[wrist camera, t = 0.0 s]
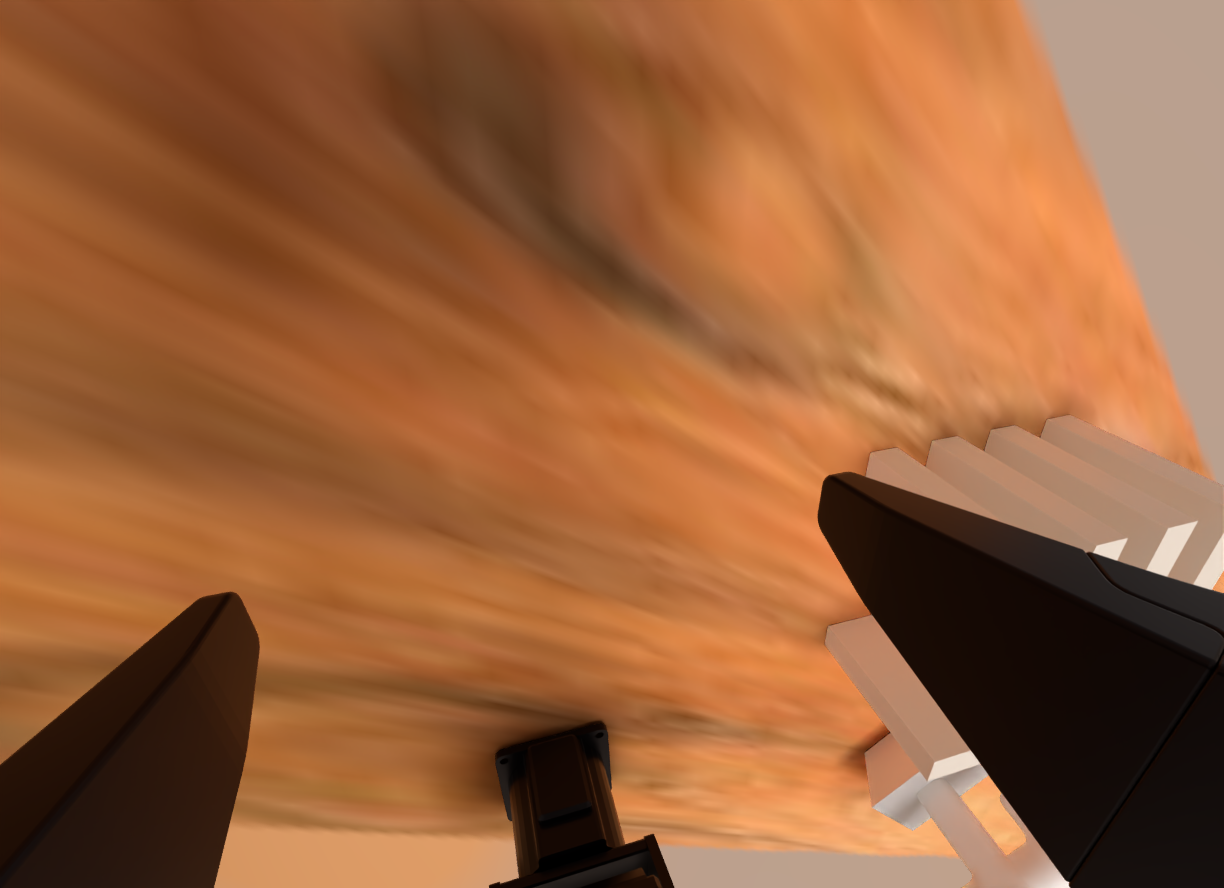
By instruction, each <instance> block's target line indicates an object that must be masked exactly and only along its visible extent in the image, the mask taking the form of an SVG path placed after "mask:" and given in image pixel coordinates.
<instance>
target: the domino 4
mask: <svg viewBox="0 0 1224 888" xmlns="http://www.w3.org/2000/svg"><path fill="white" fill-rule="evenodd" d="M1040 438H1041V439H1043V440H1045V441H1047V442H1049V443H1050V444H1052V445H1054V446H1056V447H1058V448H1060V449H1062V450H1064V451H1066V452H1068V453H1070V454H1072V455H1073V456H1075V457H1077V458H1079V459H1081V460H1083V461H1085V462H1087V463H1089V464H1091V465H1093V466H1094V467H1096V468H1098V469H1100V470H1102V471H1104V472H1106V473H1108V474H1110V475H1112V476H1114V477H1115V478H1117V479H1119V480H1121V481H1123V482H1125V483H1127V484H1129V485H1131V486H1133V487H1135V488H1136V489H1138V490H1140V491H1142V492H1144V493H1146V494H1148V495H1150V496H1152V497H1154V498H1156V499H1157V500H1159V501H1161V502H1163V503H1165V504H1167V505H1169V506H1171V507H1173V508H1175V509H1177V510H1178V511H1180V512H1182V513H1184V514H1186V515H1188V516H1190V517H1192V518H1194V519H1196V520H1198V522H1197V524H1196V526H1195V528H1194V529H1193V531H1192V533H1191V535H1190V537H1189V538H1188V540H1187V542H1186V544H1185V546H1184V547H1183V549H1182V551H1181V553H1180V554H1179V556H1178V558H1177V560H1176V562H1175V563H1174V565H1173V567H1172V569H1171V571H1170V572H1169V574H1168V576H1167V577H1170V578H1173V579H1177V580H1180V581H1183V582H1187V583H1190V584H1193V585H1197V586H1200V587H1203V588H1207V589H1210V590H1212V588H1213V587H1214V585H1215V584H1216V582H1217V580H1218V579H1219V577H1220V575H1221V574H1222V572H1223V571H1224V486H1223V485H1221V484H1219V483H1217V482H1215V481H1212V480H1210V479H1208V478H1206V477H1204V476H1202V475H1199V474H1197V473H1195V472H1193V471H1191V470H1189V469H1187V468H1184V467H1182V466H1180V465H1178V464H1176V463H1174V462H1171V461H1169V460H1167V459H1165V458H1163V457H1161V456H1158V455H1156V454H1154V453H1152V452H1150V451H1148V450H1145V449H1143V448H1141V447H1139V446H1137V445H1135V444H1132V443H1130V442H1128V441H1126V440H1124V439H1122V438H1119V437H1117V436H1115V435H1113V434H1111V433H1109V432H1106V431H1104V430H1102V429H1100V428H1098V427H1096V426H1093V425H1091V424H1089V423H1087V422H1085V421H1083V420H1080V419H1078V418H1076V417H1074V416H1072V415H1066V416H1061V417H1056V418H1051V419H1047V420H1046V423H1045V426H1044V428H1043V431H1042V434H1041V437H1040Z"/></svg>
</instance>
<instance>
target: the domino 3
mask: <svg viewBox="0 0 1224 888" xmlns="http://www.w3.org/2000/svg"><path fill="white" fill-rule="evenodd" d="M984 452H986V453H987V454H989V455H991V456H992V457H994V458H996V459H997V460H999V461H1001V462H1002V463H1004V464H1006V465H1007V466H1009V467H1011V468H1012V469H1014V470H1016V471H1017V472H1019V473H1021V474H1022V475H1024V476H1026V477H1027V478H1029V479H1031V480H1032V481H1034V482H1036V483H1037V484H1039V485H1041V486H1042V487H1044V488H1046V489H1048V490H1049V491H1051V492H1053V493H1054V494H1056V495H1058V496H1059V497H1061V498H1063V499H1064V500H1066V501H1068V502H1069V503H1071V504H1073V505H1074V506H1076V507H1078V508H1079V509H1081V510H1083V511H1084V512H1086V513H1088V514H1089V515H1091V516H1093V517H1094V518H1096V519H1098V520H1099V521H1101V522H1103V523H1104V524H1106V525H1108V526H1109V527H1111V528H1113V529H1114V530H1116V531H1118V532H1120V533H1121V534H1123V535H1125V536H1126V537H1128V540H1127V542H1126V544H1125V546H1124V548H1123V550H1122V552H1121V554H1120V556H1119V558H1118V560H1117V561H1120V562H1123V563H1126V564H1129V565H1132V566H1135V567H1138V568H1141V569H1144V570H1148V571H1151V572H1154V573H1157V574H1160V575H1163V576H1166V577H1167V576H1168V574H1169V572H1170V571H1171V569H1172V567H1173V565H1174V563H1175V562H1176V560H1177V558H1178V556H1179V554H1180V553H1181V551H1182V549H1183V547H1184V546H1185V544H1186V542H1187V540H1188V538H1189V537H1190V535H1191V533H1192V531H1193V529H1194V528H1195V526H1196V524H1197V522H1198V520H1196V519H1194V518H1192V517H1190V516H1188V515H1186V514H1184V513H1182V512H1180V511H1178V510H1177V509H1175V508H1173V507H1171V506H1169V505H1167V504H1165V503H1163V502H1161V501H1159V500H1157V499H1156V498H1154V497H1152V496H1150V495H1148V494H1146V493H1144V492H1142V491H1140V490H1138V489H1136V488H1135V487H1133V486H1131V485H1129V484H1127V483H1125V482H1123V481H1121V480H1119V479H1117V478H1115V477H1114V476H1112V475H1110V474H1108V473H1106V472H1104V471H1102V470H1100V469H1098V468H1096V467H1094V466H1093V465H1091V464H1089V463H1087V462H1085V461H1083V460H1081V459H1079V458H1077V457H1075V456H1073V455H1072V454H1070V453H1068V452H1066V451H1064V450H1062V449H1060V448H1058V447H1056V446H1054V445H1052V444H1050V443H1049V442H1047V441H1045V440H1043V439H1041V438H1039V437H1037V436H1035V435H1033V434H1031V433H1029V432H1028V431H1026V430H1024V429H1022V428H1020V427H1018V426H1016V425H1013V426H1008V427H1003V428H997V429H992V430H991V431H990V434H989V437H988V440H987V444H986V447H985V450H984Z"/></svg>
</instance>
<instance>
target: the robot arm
mask: <svg viewBox="0 0 1224 888" xmlns="http://www.w3.org/2000/svg"><path fill="white" fill-rule="evenodd" d="M818 523H819V527H820V529H821V531H822V533H823V535H824V536H825V538H826V540H827V542H828V543H829V545H830V547H831V549H832V550H833V552H834V554H835V555H836V557H837V559H838V561H839V562H840V564H841V566H842V567H843V569H844V571H845V573H846V574H847V576H848V578H849V580H850V581H851V583H852V585H853V586H854V588H855V590H856V592H857V593H858V595H859V596H860V598H861V599H862V601H863V603H864V604H865V606H866V607H867V609H868V610H869V611H870V613H871V614H872V616H873V617H874V619H875V620H876V621H877V623H878V624H879V625H880V627H881V628H882V630H883V631H884V632H885V634H886V635H887V636H888V638H889V639H890V641H891V642H892V643H893V645H894V646H895V647H896V649H897V650H898V651H899V653H900V654H901V656H902V657H903V658H904V660H905V661H906V662H907V664H908V665H909V667H910V668H911V669H912V671H913V672H914V673H915V675H916V676H917V678H918V679H919V680H920V682H921V683H922V684H923V686H924V687H925V689H926V690H927V691H928V693H929V694H930V695H931V697H932V698H933V700H934V701H935V702H936V704H937V705H938V706H939V708H940V709H941V711H942V712H943V713H944V715H945V716H946V717H947V719H948V720H949V722H950V723H951V724H952V726H953V727H954V728H955V730H956V731H957V733H958V734H959V735H960V737H961V738H962V739H963V741H964V742H965V744H966V745H967V746H968V748H969V749H970V750H971V752H972V753H973V755H974V756H975V757H976V759H977V760H978V761H979V763H980V764H981V766H982V767H983V768H984V770H985V771H986V772H987V774H988V775H989V777H990V778H991V779H992V781H993V782H994V783H995V785H996V786H997V788H998V789H999V790H1000V792H1001V793H1002V794H1003V796H1004V797H1005V799H1006V800H1007V801H1008V803H1009V804H1010V805H1011V807H1012V808H1013V809H1014V811H1015V812H1016V814H1017V815H1018V816H1019V818H1020V819H1021V820H1022V822H1023V823H1024V825H1025V826H1026V827H1027V829H1028V830H1029V831H1030V833H1031V834H1032V836H1033V837H1034V838H1035V840H1036V841H1037V842H1038V844H1039V845H1040V847H1041V848H1042V849H1043V851H1044V852H1045V853H1046V855H1047V856H1048V858H1049V859H1050V860H1051V862H1052V863H1053V864H1054V866H1055V867H1056V869H1057V870H1058V871H1059V873H1060V874H1061V875H1062V877H1063V878H1064V880H1065V881H1067V882H1069V887H1070V888H1224V593H1220V592H1217V591H1214V590H1210V589H1207V588H1203V587H1200V586H1197V585H1193V584H1190V583H1187V582H1183V581H1180V580H1177V579H1173V578H1170V577H1166V576H1163V575H1160V574H1157V573H1154V572H1151V571H1148V570H1144V569H1141V568H1138V567H1135V566H1132V565H1129V564H1126V563H1123V562H1120V561H1117V560H1114V559H1111V558H1108V557H1105V556H1102V555H1099V554H1096V553H1093V552H1085V551H1084V550H1083V549H1080V548H1077V547H1074V546H1071V545H1068V544H1065V543H1062V542H1059V541H1056V540H1053V539H1050V538H1047V537H1044V536H1041V535H1038V534H1035V533H1032V532H1029V531H1026V530H1024V529H1021V528H1018V527H1015V526H1012V525H1009V524H1006V523H1003V522H1000V521H997V520H994V519H991V518H988V517H985V516H982V515H979V514H976V513H973V512H970V511H967V510H964V509H961V508H958V507H955V506H952V505H949V504H946V503H943V502H940V501H937V500H934V499H931V498H928V497H925V496H922V495H919V494H916V493H913V492H910V491H907V490H904V489H901V488H898V487H895V486H892V485H889V484H886V483H883V482H880V481H877V480H874V479H871V478H868V477H865V476H862V475H859V474H856V473H853V472H843V473H838V474H833V475H829V476H827V477H826V478H825V480H824V481H823V485H822V491H821V497H820V503H819V510H818ZM259 650H260V644H259V637H258V634H257V631H256V629H255V627H254V625H253V623H252V621H251V619H250V616H249V614H248V612H247V610H246V608H245V606H244V604H243V602H242V600H241V598H240V597H239V595H238V594H237V593H234V592H225V593H220V594H215V595H210V596H205V597H202V598H200V599H198V600H197V601H195V602H194V603H193V604H192V605H191V606H189V607H188V608H187V609H186V610H185V611H183V612H182V613H181V614H180V615H179V616H177V617H176V618H175V619H174V620H173V621H171V622H170V623H169V624H168V625H167V626H165V627H164V628H163V629H162V630H161V631H160V632H158V633H157V634H156V635H155V636H154V637H152V638H151V639H150V640H149V641H148V642H146V643H145V644H144V645H143V646H142V647H140V648H139V649H138V650H137V651H136V652H134V653H133V654H132V655H131V656H130V657H128V658H127V659H126V660H125V661H124V662H122V663H121V664H120V665H119V666H118V667H117V668H115V669H114V670H113V671H112V672H111V673H109V674H108V675H107V676H106V677H105V678H103V679H102V680H101V681H100V682H99V683H97V684H96V685H95V686H94V687H93V688H91V689H90V690H89V691H88V692H87V693H85V694H84V695H83V696H82V697H81V698H79V699H78V700H77V701H76V702H75V703H73V704H72V705H71V706H70V707H69V708H68V709H66V710H65V711H64V712H63V713H62V714H60V715H59V716H58V717H57V718H56V719H54V720H53V721H52V722H51V723H50V724H48V725H47V726H46V727H45V728H44V729H42V730H41V731H40V732H39V733H38V734H36V735H35V736H34V737H33V738H32V739H30V740H29V741H28V742H27V743H26V744H24V745H23V746H22V747H21V748H20V749H18V750H17V751H16V752H15V753H14V754H13V755H11V756H10V757H9V758H8V759H7V760H5V761H4V762H3V763H2V764H1V765H0V888H214V885H215V881H216V877H217V873H218V869H219V865H220V861H221V856H222V853H223V849H224V845H225V840H226V836H227V832H228V828H229V824H230V820H231V816H232V812H233V808H234V804H235V800H236V796H237V792H238V788H239V784H240V780H241V776H242V771H243V767H244V762H245V758H246V752H247V745H248V739H249V731H250V723H251V715H252V707H253V699H254V691H255V683H256V675H257V667H258V659H259ZM495 764H496V768H497V773H498V777H499V782H500V786H501V790H502V795H503V799H504V803H505V808H506V812H507V817H508V819H509V820H510V821H512V822H513V831H514V840H515V848H516V857H517V866H518V874H519V878H517V879H514V880H511V881H508V882H504V883H501V884H500V882H497V883H494V884H491V885H489V888H674V886H673V883H672V880H671V877H670V875H669V872H668V870H667V867H666V864H665V862H664V859H663V857H662V854H661V851H660V849H659V846H658V843H657V841H656V838H655V836H654V834H650V835H647V836H644V839H641V840H638V841H635V842H632V843H628V844H625V842H624V838H623V834H622V830H621V827H620V823H619V819H618V815H617V812H616V808H615V804H614V800H613V797H612V793H611V789H612V785H611V771H610V757H609V742H608V732H607V728H606V726H605V725H604V724H601V723H600V724H595V725H591V726H588V727H584V728H580V729H576V730H573V731H569V732H565V733H562V734H558V735H554V736H550V737H547V738H543V739H539V740H535V741H532V742H528V743H524V744H520V745H517V746H513V747H509V748H506V749H502V750H500V751H498V752H497V753H496V754H495Z"/></svg>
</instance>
